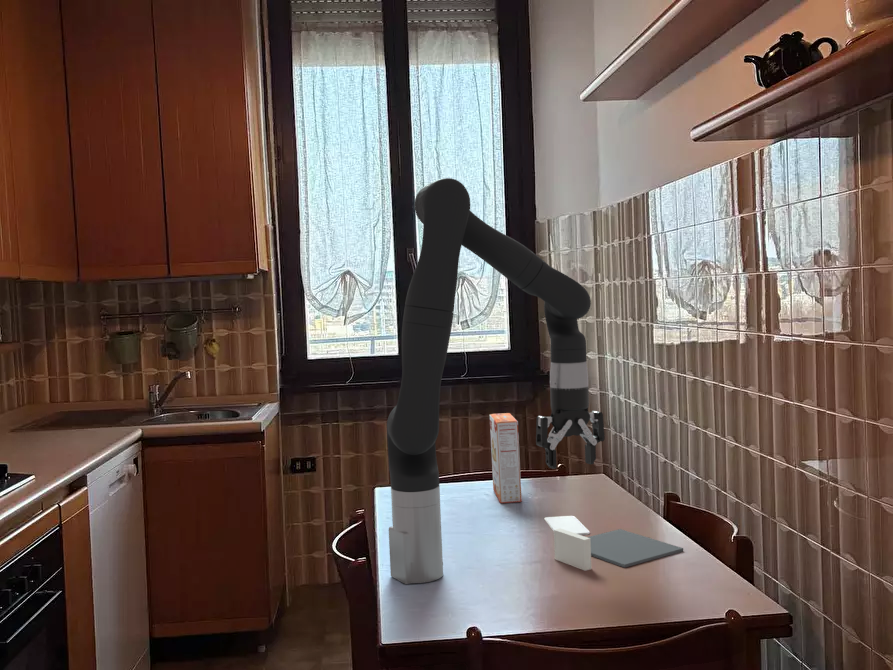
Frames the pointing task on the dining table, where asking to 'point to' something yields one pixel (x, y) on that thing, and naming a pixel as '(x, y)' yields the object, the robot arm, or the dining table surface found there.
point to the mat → (629, 548)
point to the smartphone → (567, 524)
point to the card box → (572, 549)
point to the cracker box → (505, 457)
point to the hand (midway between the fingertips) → (571, 465)
